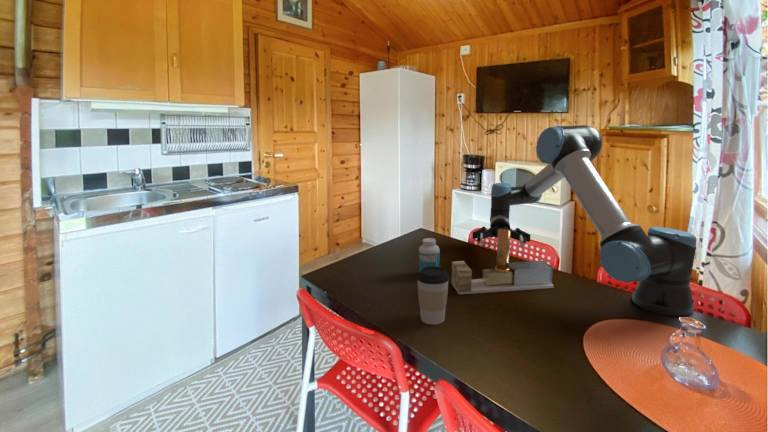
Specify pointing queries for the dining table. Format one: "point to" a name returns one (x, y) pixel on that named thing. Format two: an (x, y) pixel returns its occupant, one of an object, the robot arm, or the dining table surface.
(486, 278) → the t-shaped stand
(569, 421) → the dining table surface
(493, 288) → the bed
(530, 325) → the dining table surface
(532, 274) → the sleeve
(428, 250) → the pill bottle
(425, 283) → the coffee cup
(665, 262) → the robot arm
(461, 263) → the socket
